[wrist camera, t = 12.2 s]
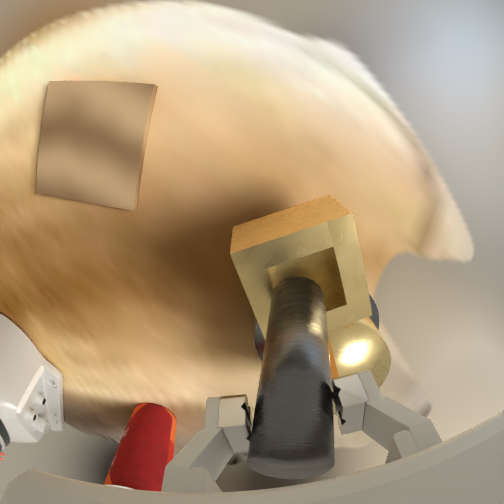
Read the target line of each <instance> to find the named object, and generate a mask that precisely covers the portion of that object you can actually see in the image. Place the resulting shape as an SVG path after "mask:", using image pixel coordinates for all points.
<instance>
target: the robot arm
mask: <svg viewBox="0 0 504 504" xmlns="http://www.w3.org/2000/svg"><path fill="white" fill-rule="evenodd" d="M332 388H333V392H332V401H333V407H334V411H335V414H336V415H338V424H339V428H340V431H341V434H342V435H343V434H347V433H352V432H356V431H360V430H362V431H363V432H365V433H366V434H367V435H368V436H370V437H371V438H372V439H374V440H375V441H376V442H378V443H379V444H380V445H381V446H383V447H384V448H385V449H387V450H388V451H389V453H388V456H387V459H386V462H385V464H383V465H380V466H377V467H373V468H370V469H367V470H363V471H359V472H355V473H352V474H348V475H344V476H339V477H336V478H331V479H326V480H322V481H316V482H311V483H305V484H300V485H293V486H287V487H279V488H272V489H263V490H253V491H241V492H221V490H220V488H219V487H218V486H217V484H216V483H215V480H216V479H217V477H218V476H219V474H220V473H221V472H222V470H223V468H224V467H225V466H226V464H227V463H228V461H229V460H230V458H231V457H232V455H233V453H235V452H244V451H248V450H249V444H250V437H251V431H252V425H253V419H252V413H251V409H250V407H249V406H248V399H247V396H246V394H244V395H233V396H222V397H212V398H208V399H207V401H206V411H205V420H204V429H200V430H199V431H198V432H197V433H196V434H195V436H194V437H193V438H192V439H191V440H190V441H189V442H188V443H187V444H186V445H185V446H184V447H183V449H182V450H181V451H180V452H179V453H178V454H177V455H176V456H175V457H174V458H173V459H172V460H171V461H170V462H169V463H168V464H167V465H166V467H165V473H164V478H163V484H162V490H161V492H158V491H146V490H136V489H127V488H119V487H112V486H106V485H100V484H94V483H89V482H84V481H79V480H74V479H70V478H65V477H62V476H58V475H54V474H50V473H46V472H43V471H39V470H35V469H29V470H27V471H25V472H24V473H22V474H21V475H19V476H18V477H17V478H15V479H14V480H13V481H11V482H10V483H9V484H8V486H7V487H6V489H5V491H4V494H3V497H2V500H1V503H0V504H504V410H503V411H502V412H500V413H499V414H497V415H495V416H493V417H491V418H490V419H488V420H486V421H484V422H482V423H481V424H479V425H477V426H475V427H473V428H471V429H469V430H467V431H465V432H463V433H461V434H459V435H457V436H455V437H453V438H450V439H448V440H446V441H444V442H442V440H441V439H440V436H439V435H438V433H437V431H436V429H435V427H434V425H433V423H432V421H431V420H430V419H428V418H426V417H424V416H422V415H420V414H418V413H416V412H415V411H413V410H411V409H409V408H407V407H405V406H403V405H401V404H399V403H398V402H396V401H394V400H392V399H390V398H388V397H383V396H382V394H381V392H380V390H379V388H378V386H377V384H376V382H375V380H374V378H373V376H372V374H371V372H370V370H365V371H361V372H357V373H353V374H349V375H345V376H341V377H337V378H333V379H332ZM63 428H64V414H63V377H62V374H61V373H60V372H59V371H58V369H56V368H55V367H54V366H53V365H52V364H51V363H50V362H48V361H47V360H46V359H45V358H44V357H43V356H42V355H41V354H40V352H39V351H38V350H37V348H36V347H35V346H34V344H33V343H32V342H31V340H30V339H29V338H28V337H27V336H26V335H25V333H24V332H23V331H22V330H21V329H20V328H19V327H18V326H16V325H15V324H14V323H13V322H12V321H11V320H9V319H8V318H7V317H5V316H4V315H2V314H0V455H2V456H5V454H4V453H2V452H1V451H2V450H3V449H4V448H5V447H6V446H7V445H8V444H9V443H10V442H25V443H35V442H37V441H39V440H40V438H41V437H42V435H43V434H46V433H47V432H48V430H53V431H62V429H63ZM0 460H3V459H1V458H0Z"/></svg>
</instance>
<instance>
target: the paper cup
mask: <svg viewBox="0 0 504 504" xmlns="http://www.w3.org/2000/svg"><path fill="white" fill-rule="evenodd" d="M175 433H176V417H175V416H174V414H173V413H172V412H171V411H170V410H168V409H167V408H165V407H163V406H160V405H157V404H153V403H142V404H139V405H137V406H136V407H135V409H134V411H133V413H132V415H131V417H130V420H129V422H128V424H127V427H126V429H125V432H124V434H123V437H122V439H121V442H120V444H119V447H118V449H117V452H116V454H115V457H114V460H113V462H112V465H111V467H110V470H109V472H108V475H107V478H106V481H105V483H104V485H106V486H112V487H119V488H127V489H136V490H146V491H158V492H161V490H162V484H163V478H164V473H165V467H166V465H167V464H168V463H169V462H170V461H171V460H172V459H173V454H174V443H175Z"/></svg>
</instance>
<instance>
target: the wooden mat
mask: <svg viewBox="0 0 504 504" xmlns="http://www.w3.org/2000/svg"><path fill="white" fill-rule="evenodd" d="M157 87H158V86H156V85H154V84H142V83H128V82H109V81H49V85H48V90H47V95H46V101H45V106H44V112H43V119H42V126H41V134H40V142H39V152H38V164H37V180H36V194H41V195H47V196H53V197H59V198H64V199H70V200H76V201H81V202H87V203H93V204H98V205H104V206H109V207H115V208H120V209H125V210H131V211H133V210H135V209H136V208H137V203H138V195H139V187H140V180H141V173H142V166H143V159H144V153H145V147H146V141H147V136H148V130H149V125H150V120H151V115H152V110H153V105H154V100H155V96H156V91H157Z"/></svg>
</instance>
